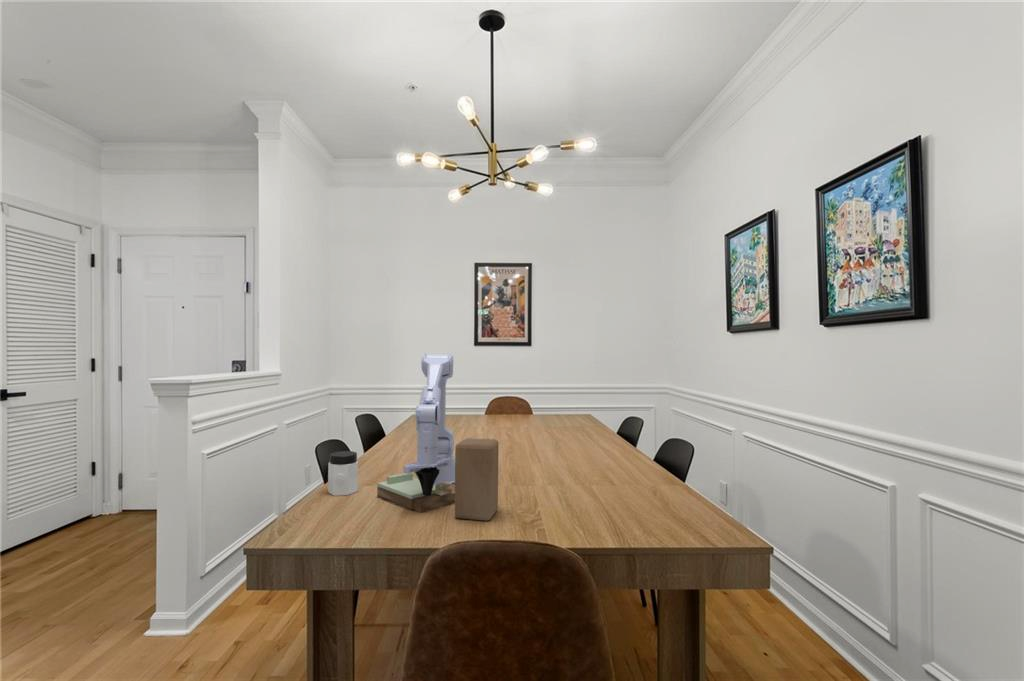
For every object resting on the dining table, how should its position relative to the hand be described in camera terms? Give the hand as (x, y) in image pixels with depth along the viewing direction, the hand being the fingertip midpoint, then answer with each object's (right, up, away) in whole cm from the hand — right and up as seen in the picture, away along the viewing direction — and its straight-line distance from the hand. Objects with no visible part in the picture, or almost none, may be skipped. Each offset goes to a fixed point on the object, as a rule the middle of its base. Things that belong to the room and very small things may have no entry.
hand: (426, 494), depth 144 cm
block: (+14, -4, -5) cm, 16 cm away
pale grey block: (+4, -1, +4) cm, 6 cm away
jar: (-29, -4, +16) cm, 33 cm away
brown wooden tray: (-3, -4, +10) cm, 11 cm away
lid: (-6, -1, +9) cm, 11 cm away
